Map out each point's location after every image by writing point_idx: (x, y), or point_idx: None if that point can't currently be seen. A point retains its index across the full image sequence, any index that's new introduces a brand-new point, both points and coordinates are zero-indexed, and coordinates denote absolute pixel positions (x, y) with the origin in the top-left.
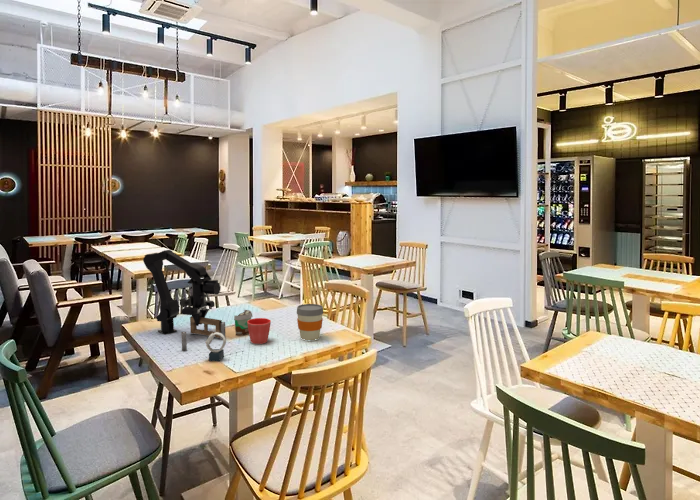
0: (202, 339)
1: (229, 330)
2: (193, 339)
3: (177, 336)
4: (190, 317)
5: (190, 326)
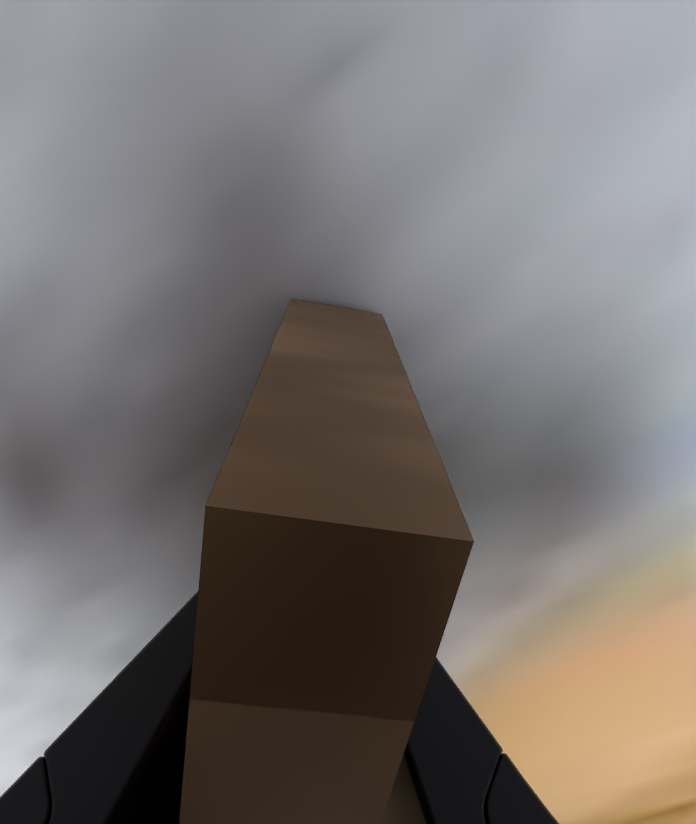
0: (136, 608)
1: (625, 721)
2: (72, 492)
3: (73, 62)
4: (207, 516)
5: (276, 339)
